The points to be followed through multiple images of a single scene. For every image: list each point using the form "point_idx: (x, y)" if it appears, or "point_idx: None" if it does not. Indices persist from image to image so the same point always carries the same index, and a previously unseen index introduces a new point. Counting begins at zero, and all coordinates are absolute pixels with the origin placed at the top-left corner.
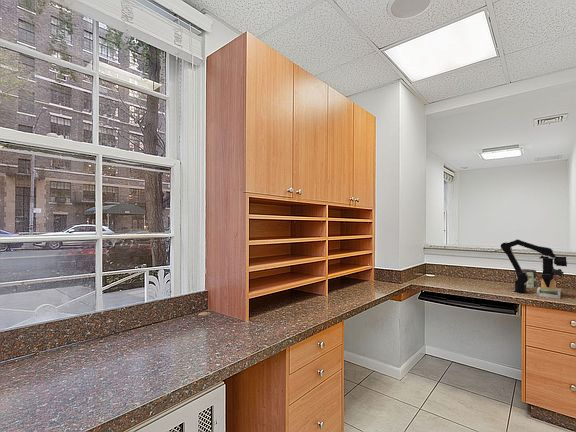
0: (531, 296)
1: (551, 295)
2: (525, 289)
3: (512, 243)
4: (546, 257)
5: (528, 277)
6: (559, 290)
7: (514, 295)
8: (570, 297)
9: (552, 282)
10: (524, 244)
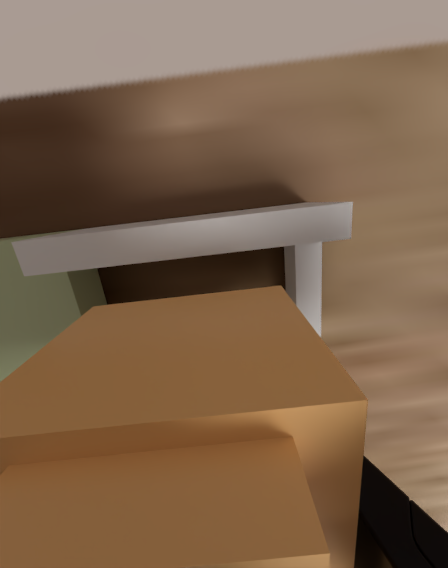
0: (382, 424)
1: (318, 295)
2: None
3: None
4: None
5: None
6: (136, 237)
7: (429, 507)
8: (74, 103)
9: (358, 485)
10: None
